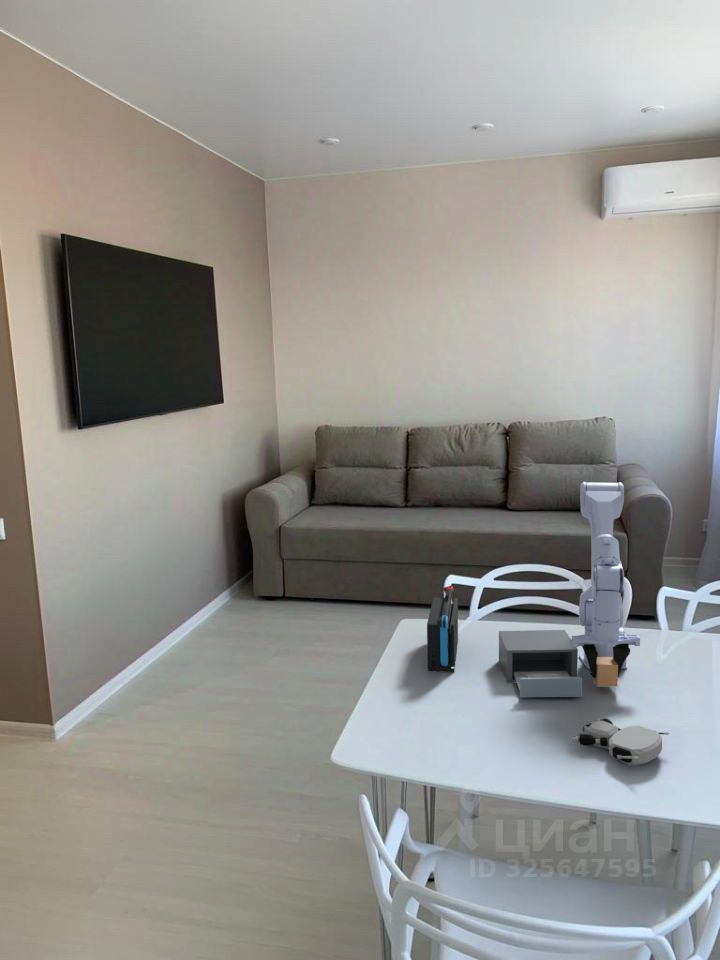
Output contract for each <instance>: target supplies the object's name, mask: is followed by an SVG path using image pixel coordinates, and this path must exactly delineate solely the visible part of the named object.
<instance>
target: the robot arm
mask: <svg viewBox="0 0 720 960" xmlns="http://www.w3.org/2000/svg"><path fill="white" fill-rule="evenodd" d="M579 489H580V490H579V491H580V492H579V493H580V494H579V496H580V497H579V499H580V500H579V501H580V502H579V503H580V513H581V516H582V517H583V518H585V519H587V520H588V522H589V525H590V529H591V530H590V536H591V537H590V538H591V539H590V540H591V546H590V547H591V556H590V558H591V560H590V561H591V563H590V564H591V565H590V566H591V568H590V569H591V572H590V573H591V576H590V581H591V582H590V583H591V586H590V587H589V588H587V589H585V590H584V591H582V592H581V594H580V596H579V606H578V608H579V609H578V621H579V624H580V625H581V627H584V634H580V635H572V636H571V640H572V641H571V644H572V646H573V647H576V648H578V647H582V649H583V654H582V653H578V658H579V659H580V660H581V662H582V664H583V665H584V666H585V668H586V669H587V670H589V672H590V674H589V675H591V678H592V677H593V678H596V663H597V657H612V658H613V659H614V660H615V662H616V663H617V664H618V678H619V677H620V674H621V671H622V669H623V670H625V669H627V668H628V665H627V659H628V656H629V655H630V653H631V648H630V646H634V647H640V646H641V637H640V636H639V635H638V634H630V633H629V634H628V633H626V631H625V629H624V628H623V624H624V606H623V597H622V596H621V594H622V593H621V592H623V591H624V587H625V586H624V585H625V571H624V568H623V563H622V561H621V557H620V543H619V540H618V539H617V538H615V537H614V521H615V520H616V519H618V518H620V516H621V514H622V511H623V507H624V503H625V486H624V484H623V483H622V482H621V481H620V482H594V481H593V482H590V481H589V482H586V481H582V483H581V484H580V488H579Z"/></svg>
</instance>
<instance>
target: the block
mask: <svg viewBox="0 0 720 960" xmlns="http://www.w3.org/2000/svg"><path fill="white" fill-rule="evenodd" d="M618 678H619V677H618V664H617V663H616V662H615V660H614V659H613V658H612V657H597V663H596V678H593V677H592V676H591V679H592V680H593V682H594V684H595V685H596V687H599V688H602V687H605V688H607V687H618Z"/></svg>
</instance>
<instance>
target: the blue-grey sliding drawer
mask: <svg viewBox="0 0 720 960" xmlns="http://www.w3.org/2000/svg"><path fill="white" fill-rule="evenodd" d="M513 675H514V678H515V680H516V682H515V683H516V685H517V687H518V690H519V697H520V698H562V697H563V698H564V697H565V698H567V697H568V698H569V697H571V698H572V697H573V698H574V697H577V698H578V697H582V695H583V693H582V692H583V691H582V690H583V677H582V676H577V677H570V676H569V674H568V672H567V671H536V672H513Z"/></svg>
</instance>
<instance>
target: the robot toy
mask: <svg viewBox="0 0 720 960" xmlns="http://www.w3.org/2000/svg"><path fill="white" fill-rule="evenodd" d="M582 732H583V733H580V734H579V735H576V734H574V735H571V736H570V737H571V738H570V741H571V742H573V743H579V746H585V747H586V746H587V747H590V746H593V747H595V748H599V749H600V748H602V749H607V750H608V752H609V755H610V756H611V757H612V758H613V759H614V760H617V761H621V762H623V763H624V764H626V765H628V766H635V765H636V766H637V765H643V764H646V763H649V762H651V761H652V760H655V759H656V758H658V757H659V755H660V754H661V753H662V750H663V738H662V735H666V736H669V735H670V732H667V731H665V732H658V731H657V730H654V729H651V728H647V727H643V726H640V725H630V726H627V727H623V728H620V727H617V726H616V725H614V724H613V722H612V721H611V720H609V719H608V718H597V719H596V720H595V721H588V723H587V724H584V725H583V727H582Z"/></svg>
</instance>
